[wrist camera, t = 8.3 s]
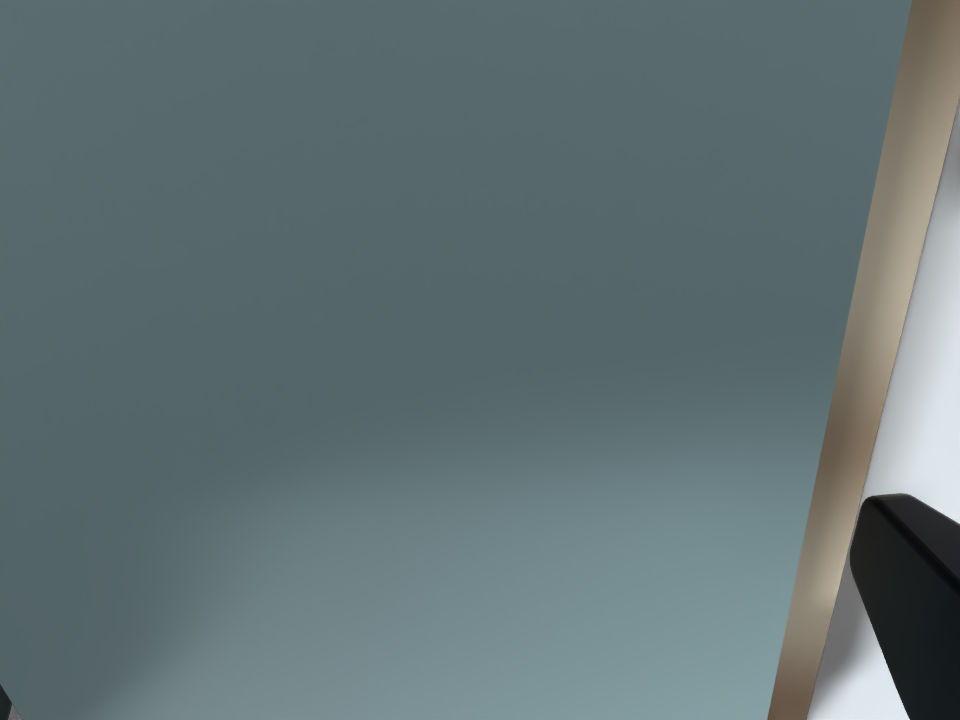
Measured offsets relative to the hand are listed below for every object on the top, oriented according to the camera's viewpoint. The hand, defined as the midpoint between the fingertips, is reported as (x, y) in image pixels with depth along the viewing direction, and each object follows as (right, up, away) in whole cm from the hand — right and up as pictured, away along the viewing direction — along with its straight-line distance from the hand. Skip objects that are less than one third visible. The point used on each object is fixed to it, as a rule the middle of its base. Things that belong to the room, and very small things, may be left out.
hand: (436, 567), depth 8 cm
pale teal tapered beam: (0, +1, +2) cm, 2 cm away
